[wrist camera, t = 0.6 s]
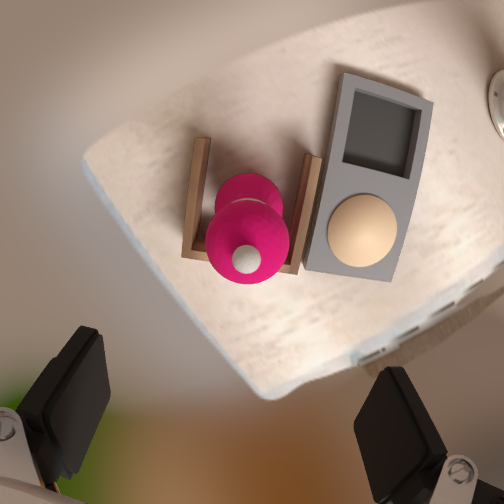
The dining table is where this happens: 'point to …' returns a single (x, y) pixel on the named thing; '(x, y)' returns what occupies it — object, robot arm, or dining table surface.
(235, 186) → the pepper mill
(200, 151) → the wooden u-shaped frame
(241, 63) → the dining table surface
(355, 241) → the gray portable music player
